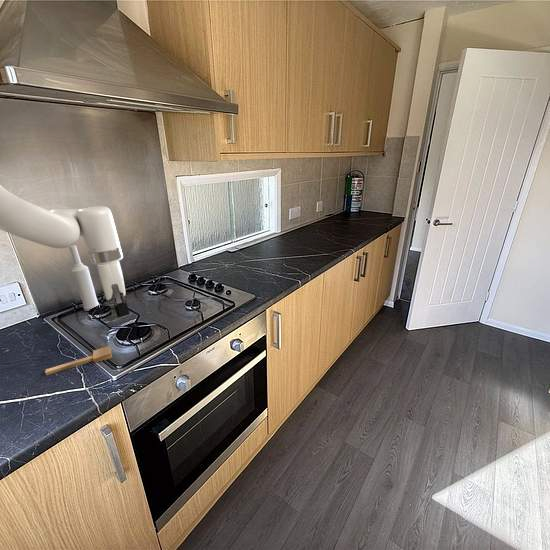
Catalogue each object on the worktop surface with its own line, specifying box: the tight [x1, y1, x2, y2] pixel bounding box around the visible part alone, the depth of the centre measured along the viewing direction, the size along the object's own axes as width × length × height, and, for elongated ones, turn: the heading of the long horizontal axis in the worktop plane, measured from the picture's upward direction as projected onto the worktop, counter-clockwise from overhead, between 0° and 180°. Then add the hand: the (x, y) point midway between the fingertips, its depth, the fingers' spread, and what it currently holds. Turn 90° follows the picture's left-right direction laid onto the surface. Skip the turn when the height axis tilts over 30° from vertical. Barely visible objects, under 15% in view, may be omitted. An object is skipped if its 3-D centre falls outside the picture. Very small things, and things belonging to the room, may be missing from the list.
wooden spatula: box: [44, 345, 113, 376], centre depth 82 cm, size 16×4×2 cm, turn 120°
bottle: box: [68, 244, 100, 312], centre depth 106 cm, size 5×5×25 cm
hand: (123, 314), depth 84 cm, fingers closed
